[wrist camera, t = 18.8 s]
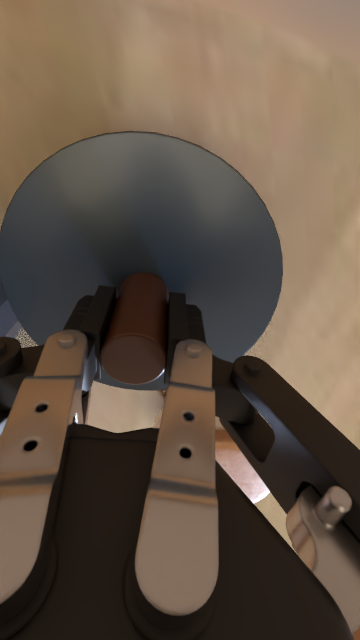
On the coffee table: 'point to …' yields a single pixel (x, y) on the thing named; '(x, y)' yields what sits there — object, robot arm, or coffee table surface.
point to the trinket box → (234, 463)
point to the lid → (141, 248)
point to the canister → (7, 316)
